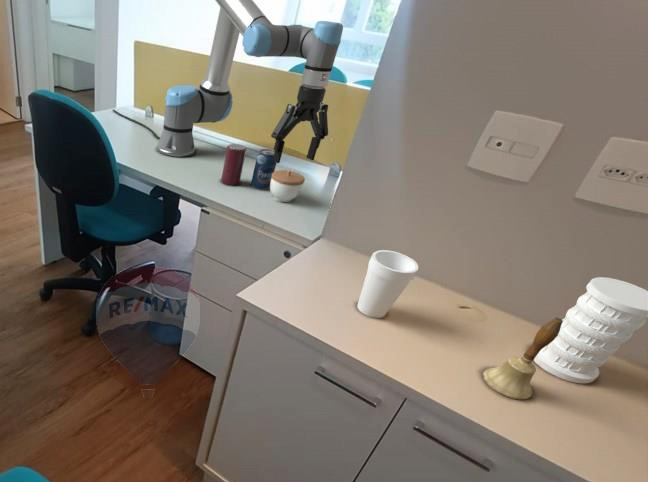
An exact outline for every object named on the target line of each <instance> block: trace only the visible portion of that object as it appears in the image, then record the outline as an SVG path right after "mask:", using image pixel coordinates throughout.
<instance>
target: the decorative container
mask: <svg viewBox="0 0 648 482" xmlns="http://www.w3.org/2000/svg"><path fill="white" fill-rule="evenodd" d="M585 288H586V292H585V293H584V294H581V295H580V296H579V297H578V298H577V301H576V304H575V305H574V306H572V307H571V308H569V309H568V310H567V311H566V314H565V317H564V318H563V319H561V320H563V322H562V325H561V328H560V331H559V334H558V335H557V337H556V338H555V339H554V340H553V341H552V342H551V343H550V344H549V345H547V346H545V347H544V348H543V349H541V350H540V352H539V353H538V354H537V356H536V357H535V359H534V360H533V362H535V364H536V365H538V366H539V367H540V368H542V370H544V371H546V372H548V374H551V375H553V376H555V377H557V378H559V379H562V380H564V381H567V382H571V383H575V384H590V383H592V382H594V381H595V380H596V379H597V378H598V377H599V375H600V369H599V368H600V367H602V366H603V365H605V363H607V361H608V359H609V356H612V355H614V354H615V353H617V352H618V351H619V349H620V347H621V345H622V344H623V343H625V342H627V341H628V340H630V339H631V338H632V336H633V334H634V332H635V331H637V330H639V329H640V328H642V327H644V325H645V324H646V322H647V319H648V290H647V289H645V288H643V287H640V286H638V285H635V284H633V283H630V282H627V281H624V280H620V279H617V278H612V277H605V276H597V277H594V278H592V279H590V281H589V282H588V283H587V285H586V286H585Z"/></svg>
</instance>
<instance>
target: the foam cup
mask: <svg viewBox="0 0 648 482" xmlns="http://www.w3.org/2000/svg"><path fill="white" fill-rule="evenodd" d="M418 271H419V264H418V263H417V262H416V260H415V259H413V258H411V257H410V256H407V255H406V254H403V253H400V252H398V251H393V250H388V249H382V250H381V249H380V250H376V251H374V252H372V254H371V256H370V258H369V262H368V264H367V271H366V275H365V278H364V280H363V281H364V282H363V284H362V288H361V292H360V295H359V300H358V302H357V305H356V307H357V309H358V311H359V312H361V313H362V314H363V315H366V316H368V317H369V318H370V317H371V318H374V319H375V318H376V319H379V318H383V317H385V316H386V314H387V313H388V312H389V311H390V310H391V308H392V307H393V305H394V304H395V303H396V301H397V300H398V299H399V297H400V296H401V294H402V293H403V292H404V290H405V289H406V288H407V287H408V285H409V284H410V282H411V281H412V280H414V278H415V277H416V274H417V273H418Z"/></svg>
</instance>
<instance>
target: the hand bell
mask: <svg viewBox="0 0 648 482" xmlns="http://www.w3.org/2000/svg"><path fill="white" fill-rule="evenodd" d="M562 322H563V320H562V319H561V318H559V317H554V318H553V319H552V320H549V321H548V322H547V323H545V324H544V325H542V326H541V327H540V328H539V329H538V331H537V332H536V334H535V336H534V338H533V341H532V344H531V345H530V347H528V349H527V350H526V351H525V352H524V353H523V355H522V356H512V357H510V358H508V359H507V360H506V361H505V362H504V363H503V364H501V365H499V366H497V367H490V368H486V370H484V371H483V374H482V378H483V380H484V381H485V383H486V384H487V385H488V386H489V387H490V388H491V389H492V390H494V391H495V392H497V393H499V394H500V395H502V396H505V397H507V398H510V399H514V400H528V399H529V398H531V396H532V394H533V388H532V386H531V381H532V378H533V377H534V375H535V374H536V372H537V368H536V366H535V365H534V363H533V362H534V359H535V357H536V356H537V354H538V353H539V352H540V350H541V349H543V348H544V347H545V346H547V345H549V344H550V343H551V342H552V341H553V340H554V339H555V338H556V337H557V335H558V334H559V331H560V328H561V325H562Z"/></svg>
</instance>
